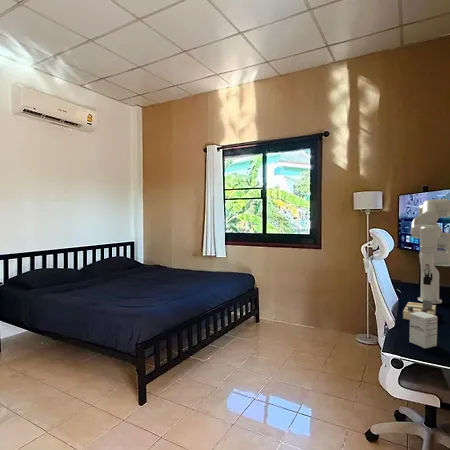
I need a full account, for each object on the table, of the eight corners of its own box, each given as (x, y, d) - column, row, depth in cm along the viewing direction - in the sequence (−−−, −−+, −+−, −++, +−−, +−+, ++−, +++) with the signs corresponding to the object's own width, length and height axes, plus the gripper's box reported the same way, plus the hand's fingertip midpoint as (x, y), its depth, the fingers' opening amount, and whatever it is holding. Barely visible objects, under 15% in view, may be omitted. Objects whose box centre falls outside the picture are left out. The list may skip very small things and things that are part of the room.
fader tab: (423, 306, 175) (423, 298, 175) (432, 308, 172) (432, 299, 172) (422, 308, 172) (422, 300, 172) (431, 309, 170) (431, 301, 170)
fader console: (408, 308, 186) (408, 298, 186) (435, 312, 179) (435, 301, 179) (403, 318, 170) (403, 307, 170) (432, 323, 163) (432, 311, 162)
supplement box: (408, 342, 141) (409, 313, 140) (421, 339, 143) (421, 310, 143) (424, 349, 134) (425, 318, 133) (437, 346, 136) (438, 315, 136)
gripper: (421, 247, 180) (421, 278, 181) (418, 251, 166) (417, 285, 167) (438, 248, 176) (437, 279, 177) (435, 252, 162) (435, 287, 163)
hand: (427, 282), depth 172 cm, fingers open, 9 cm apart
